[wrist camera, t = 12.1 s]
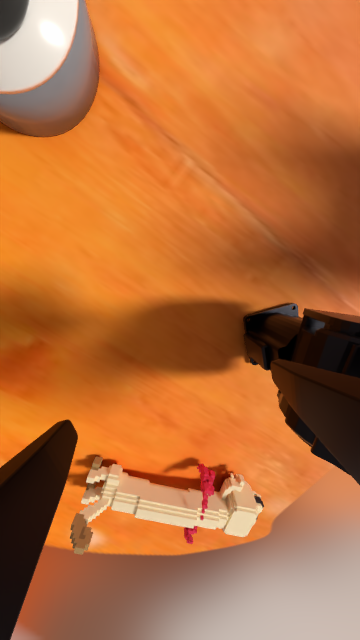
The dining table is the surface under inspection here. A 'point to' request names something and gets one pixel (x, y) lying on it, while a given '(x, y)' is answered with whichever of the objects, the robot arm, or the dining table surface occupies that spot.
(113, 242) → the dining table surface
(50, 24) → the white round pedestal
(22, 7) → the supplement bottle
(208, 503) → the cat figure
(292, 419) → the robot arm
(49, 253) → the dining table surface
